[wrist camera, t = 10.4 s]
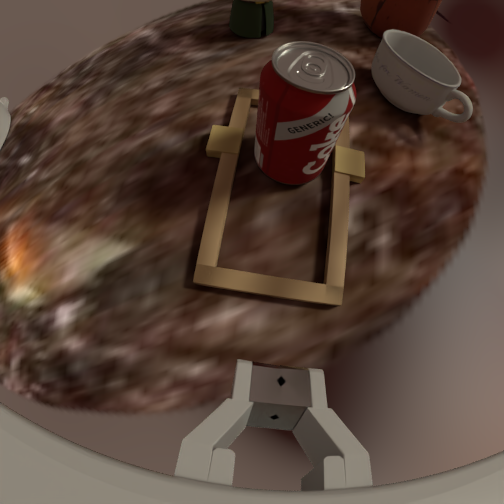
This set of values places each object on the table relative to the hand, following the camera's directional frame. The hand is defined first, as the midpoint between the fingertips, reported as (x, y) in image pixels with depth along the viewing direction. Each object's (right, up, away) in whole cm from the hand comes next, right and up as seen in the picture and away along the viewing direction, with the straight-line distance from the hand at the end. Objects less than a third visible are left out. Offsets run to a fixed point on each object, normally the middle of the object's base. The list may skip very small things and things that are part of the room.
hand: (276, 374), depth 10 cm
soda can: (+3, +13, +18) cm, 22 cm away
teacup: (+19, +23, +21) cm, 37 cm away
